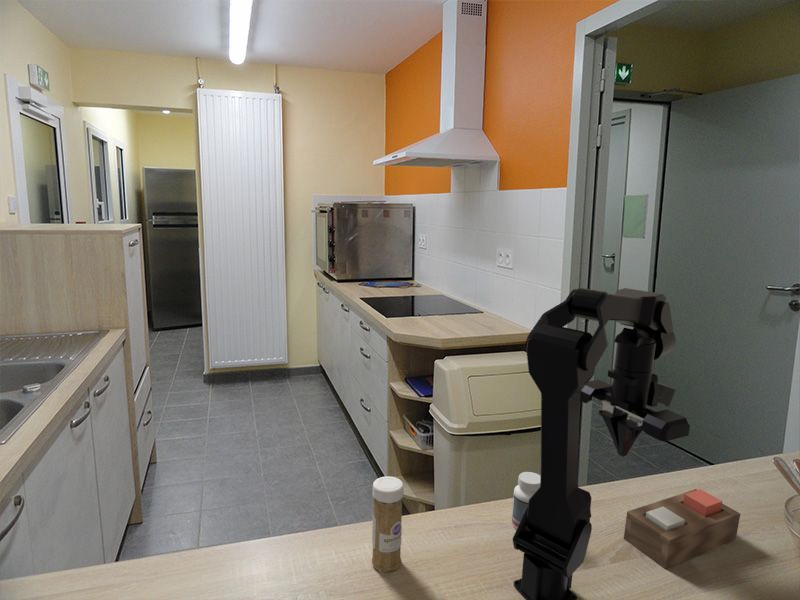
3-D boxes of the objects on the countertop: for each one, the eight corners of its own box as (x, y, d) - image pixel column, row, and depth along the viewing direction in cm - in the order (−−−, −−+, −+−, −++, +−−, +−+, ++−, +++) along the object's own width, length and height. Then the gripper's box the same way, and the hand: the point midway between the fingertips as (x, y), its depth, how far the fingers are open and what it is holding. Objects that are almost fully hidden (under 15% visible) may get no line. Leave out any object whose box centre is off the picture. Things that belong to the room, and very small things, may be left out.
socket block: (665, 569, 84) (669, 540, 83) (623, 538, 91) (627, 511, 90) (735, 540, 91) (740, 513, 90) (692, 514, 98) (696, 489, 97)
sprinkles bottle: (391, 577, 80) (393, 494, 78) (365, 566, 83) (366, 485, 80) (406, 559, 84) (409, 480, 81) (381, 549, 86) (383, 471, 84)
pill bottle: (543, 536, 91) (547, 488, 89) (511, 532, 92) (515, 484, 90) (541, 518, 96) (546, 471, 94) (511, 513, 97) (514, 468, 95)
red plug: (702, 534, 90) (706, 506, 89) (680, 520, 93) (684, 494, 92) (717, 528, 92) (722, 501, 91) (696, 515, 95) (700, 489, 94)
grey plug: (663, 554, 86) (667, 526, 85) (642, 539, 90) (646, 512, 89) (680, 547, 88) (684, 519, 87) (659, 533, 91) (663, 506, 90)
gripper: (720, 379, 84) (705, 472, 87) (623, 345, 100) (614, 425, 103) (670, 389, 79) (656, 487, 82) (577, 352, 95) (569, 435, 99)
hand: (622, 455), depth 92 cm, fingers closed
